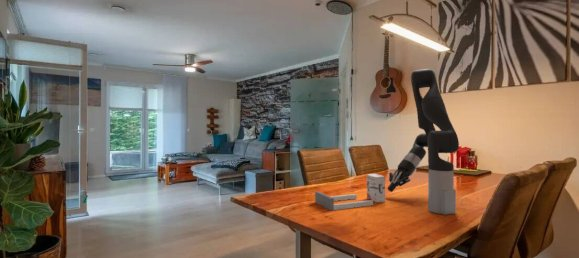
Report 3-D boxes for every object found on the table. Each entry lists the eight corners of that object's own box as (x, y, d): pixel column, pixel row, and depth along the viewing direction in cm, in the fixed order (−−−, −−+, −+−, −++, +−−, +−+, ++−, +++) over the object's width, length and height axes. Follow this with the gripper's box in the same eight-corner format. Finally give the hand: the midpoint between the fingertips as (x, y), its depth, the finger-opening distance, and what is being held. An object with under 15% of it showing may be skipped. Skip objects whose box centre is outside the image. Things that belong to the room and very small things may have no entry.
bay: (372, 205, 132) (373, 194, 132) (330, 210, 124) (330, 198, 124) (354, 198, 145) (354, 187, 145) (315, 202, 137) (315, 191, 137)
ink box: (366, 198, 145) (366, 173, 145) (375, 197, 146) (375, 173, 146) (376, 202, 137) (376, 176, 136) (385, 202, 138) (386, 176, 138)
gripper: (395, 157, 154) (376, 183, 150) (415, 160, 142) (394, 188, 137) (403, 167, 156) (384, 192, 152) (423, 170, 144) (403, 198, 139)
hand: (389, 190), depth 144 cm, fingers closed
